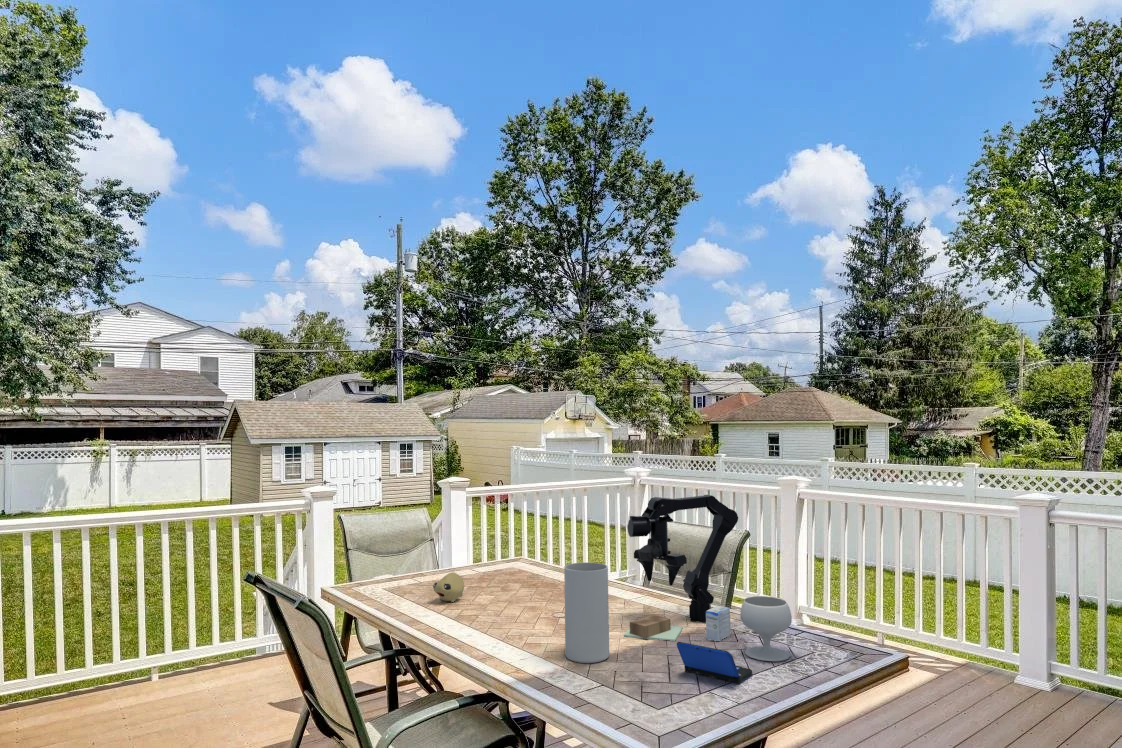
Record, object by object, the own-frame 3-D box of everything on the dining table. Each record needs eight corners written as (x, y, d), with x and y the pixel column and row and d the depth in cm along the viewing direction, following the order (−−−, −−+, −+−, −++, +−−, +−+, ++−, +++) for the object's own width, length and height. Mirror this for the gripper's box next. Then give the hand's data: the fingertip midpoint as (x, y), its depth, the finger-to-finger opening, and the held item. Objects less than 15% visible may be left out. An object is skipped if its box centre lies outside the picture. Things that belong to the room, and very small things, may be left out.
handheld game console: (754, 675, 174) (753, 638, 175) (732, 691, 164) (731, 652, 164) (700, 663, 184) (699, 628, 185) (676, 677, 173) (675, 640, 174)
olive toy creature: (428, 603, 250) (428, 574, 251) (448, 596, 260) (449, 569, 261) (448, 607, 245) (448, 577, 246) (469, 599, 255) (469, 571, 256)
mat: (683, 628, 215) (683, 626, 215) (674, 641, 202) (674, 639, 202) (634, 624, 220) (634, 622, 220) (623, 636, 207) (623, 634, 207)
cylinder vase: (607, 665, 182) (605, 571, 184) (562, 663, 184) (560, 570, 186) (611, 650, 194) (609, 562, 196) (569, 648, 196) (567, 562, 199)
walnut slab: (670, 618, 212) (645, 626, 204) (670, 630, 211) (645, 638, 203) (654, 614, 216) (629, 622, 209) (654, 625, 216) (629, 633, 208)
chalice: (741, 661, 184) (739, 605, 185) (741, 645, 197) (739, 593, 198) (795, 665, 180) (792, 608, 181) (791, 649, 193) (789, 596, 195)
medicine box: (717, 633, 209) (716, 605, 210) (731, 636, 206) (730, 607, 207) (706, 639, 203) (705, 610, 204) (719, 642, 200) (718, 613, 201)
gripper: (622, 535, 225) (623, 582, 224) (665, 541, 211) (666, 591, 210) (644, 531, 233) (645, 577, 231) (687, 537, 219) (688, 586, 217)
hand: (660, 583), depth 222 cm, fingers open, 9 cm apart
